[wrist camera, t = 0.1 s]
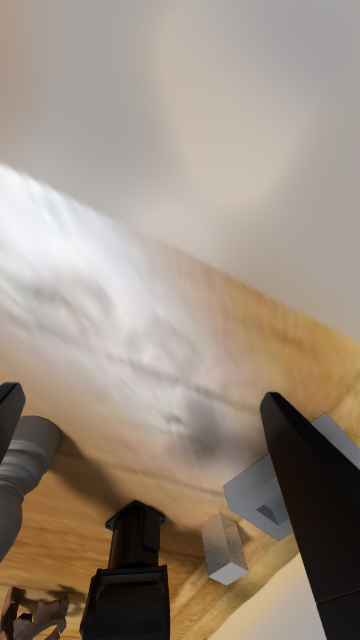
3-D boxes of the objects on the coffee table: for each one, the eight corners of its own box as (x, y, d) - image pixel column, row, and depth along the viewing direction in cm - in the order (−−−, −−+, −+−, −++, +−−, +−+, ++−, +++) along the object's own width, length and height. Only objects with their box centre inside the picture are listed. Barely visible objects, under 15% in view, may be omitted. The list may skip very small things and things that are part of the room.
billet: (216, 533, 38) (226, 585, 32) (200, 524, 37) (208, 576, 31) (235, 521, 37) (249, 571, 32) (219, 511, 36) (231, 562, 30)
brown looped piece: (11, 571, 37) (13, 639, 31) (70, 549, 43) (83, 603, 37) (-17, 637, 38) (-20, 718, 31) (46, 607, 44) (54, 669, 37)
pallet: (269, 518, 38) (278, 541, 35) (222, 486, 34) (228, 508, 31) (365, 455, 35) (383, 475, 32) (325, 412, 31) (342, 430, 28)
